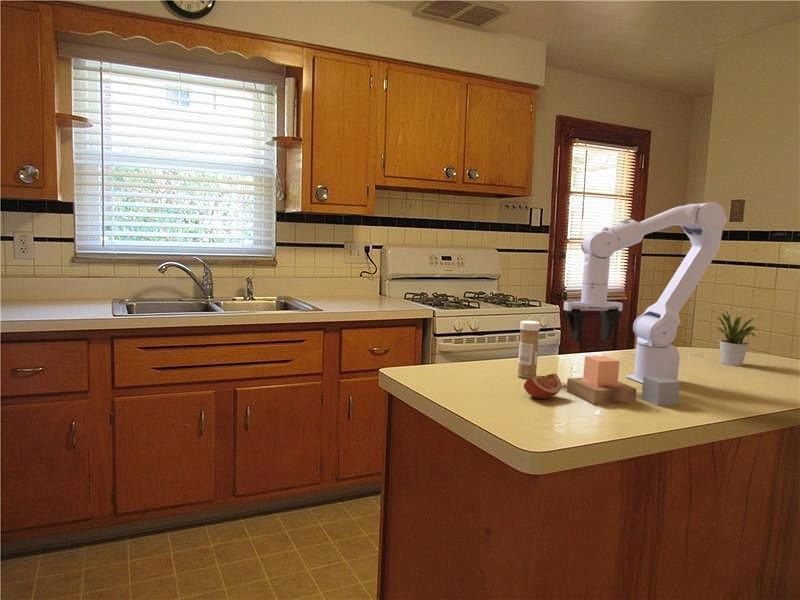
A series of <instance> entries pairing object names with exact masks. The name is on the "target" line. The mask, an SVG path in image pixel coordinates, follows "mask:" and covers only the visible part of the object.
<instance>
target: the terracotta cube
mask: <svg viewBox="0 0 800 600" xmlns="http://www.w3.org/2000/svg"><path fill="white" fill-rule="evenodd" d="M620 361H621V360H618V359H616V358H613V357H610V356H608V355H585V356H584V364H583V376H582V378H583V379H585V380H587V381H589V382H591V383H594V384H596V385H609V384H618V381H619V371H620V370H619V369H620Z"/></svg>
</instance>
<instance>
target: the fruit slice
mask: <svg viewBox="0 0 800 600" xmlns="http://www.w3.org/2000/svg"><path fill="white" fill-rule="evenodd" d="M562 387H563V386H562V381H561V380H560V377H559V376H558V375H557V373H551V374H550V373H549V374H547V375H537V376H533V377H530V378H529V379H526V381H525V382H524V385H523V389H524V390H525V391H526V393H527V394H529V395H530V396H531V397H533V398H536V399H548V398H551V397H554V396H556V395H557V394H558V393H559V392H560V391H561V390H562Z"/></svg>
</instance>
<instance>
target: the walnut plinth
mask: <svg viewBox="0 0 800 600" xmlns="http://www.w3.org/2000/svg"><path fill="white" fill-rule="evenodd" d="M566 393H568V394H570V395H572V396H575V397H577V398H579V399H580V400H582V401H585V403H588V404H591V405H593V406H607V405H621V404H622V405H623V404H624V405H625V404H626V405H627V404H636V401H637V388H636V387H633V386H631V385H629V384H626V383H624V382H621V381H619V380H618V384H609V385H596V384H594V383H591V382H589V381H587V380H585V379H583V377H567V381H566Z"/></svg>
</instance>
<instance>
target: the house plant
mask: <svg viewBox="0 0 800 600" xmlns="http://www.w3.org/2000/svg"><path fill="white" fill-rule="evenodd" d="M741 308H742V306H740V307H739V309H738V310H737V312H736V315H735V318H734V322H733V326H732V322H731V318H730V315H729V312H728V311H727V310H726V309H724V308H723V309H722V310H720V312H719V315H721V316H722V317H721V316H719V315H718V316H716V318H717V319H718V321H720V322H721V324H722V326H723V328H724V329H723V328H720V326H719V327H718V326H713V327H712V329H717V330H719V332H720V333H723V334H722V335H723V336H725V338H726V339H720V340H719V350H720V363H721V364H723V365H727V366H732V367H733V366H734V367H741V366H743V364H744V359H745V357H746V353H747V350H748V347H749V343H748V342H746V341H744V339H745V337H746V338H749V335H751V336H753V338H756V334H755V332H752V331H756V330H757V331H758V328H756V326H754V325H753V326H751V325H750V326H748V325H749V324H750V323H751V322H753V321H754V320H755V319H756V318H759V317H758V316H760V315H761V314H755V315H753V316H751V317H750V318H748V319H747V320H746V321H745V322H744V323H743V324H742V326H741V321H742V319H743V318H744V317H742V316H743V314H742V315H741V313H740V310H741ZM706 310H708V311H709V309H708V308H706ZM710 311H712V312H713V313H715V314H717V312H716V311H714V310H712V309H710ZM724 311H725V312H726V314H727V315H726V314H725V312H724ZM746 313H747V311H745V312H744V314H746ZM722 318H723V319H722ZM723 320H724V321H725V322H724V321H723ZM740 326H741V328H740ZM747 326H748V327H747Z"/></svg>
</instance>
